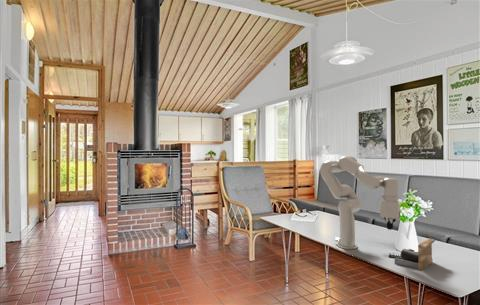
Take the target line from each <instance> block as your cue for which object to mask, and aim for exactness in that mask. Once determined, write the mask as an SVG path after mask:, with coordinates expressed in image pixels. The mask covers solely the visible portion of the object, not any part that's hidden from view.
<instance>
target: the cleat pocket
mask: <svg viewBox="0 0 480 305" xmlns="http://www.w3.org/2000/svg"><path fill="white" fill-rule="evenodd" d="M394 264H395V265H398V266H403V267H406V268H411V269H415V270H419V269H418V263H416V262H411V261H407V260H403V259H401V258H397V257H395V258H394Z"/></svg>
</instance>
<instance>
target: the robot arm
mask: <svg viewBox="0 0 480 305" xmlns="http://www.w3.org/2000/svg"><path fill="white" fill-rule="evenodd" d="M345 171H346V172H347V173H349V174H350V175H352V176H354V177H355V178H356V179H357V181H358V182H359V183H361V184H362V185H363V186H365V187H367V188H369V189H370V190H381V189H383V195H381V198H382V200H381V203H380V210H379V214H380V218H381V219H384V221H385V223H386V228H387V230H390V231H392V230H393V228H394V223H395V222H399V221H401V218H400V217H401V206H400V202H399V196H398V195H399V179H398V178H395V177H386V176H381V175H379V176H373V175H371V174H369V173H368V172H366V171H365V166H364V165H363V164H361V163H359V162H358V160H357V159H356V157H354V156H353V155H352V156H350V155H348V156H347V155H346V156H345V155H344V156H341V157H339V159H337V160H326V161H324V162H323V163H322V164H321V165H320V169H319V173H320V176H321V178H322V180H323V181H324V183H325V184H326V186H327V187H328V189H329V192H330V193H331V194H332V196H333V197H334V198H335V199H336V200H340V201H339V203H338V204H337V210H338V214H339V237H335V238H334V242H337V246H338V247H339V248H341V249H346V250H354V249H357V248H358V246H359V245H358V244H356V224H355V223H356V221H355V216H354V213H357V212H359V211H360V210H361V208H362V203H361V201H360V199H359V197H358V195H357V194H356V192H355V191H354V190H353V188H352V187H351V186H350V185H348V184H342V183H341V182H340V180H339V179H338V177H337V176H336V175H335V174H334V173H341V172H345Z"/></svg>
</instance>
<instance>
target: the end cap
mask: <svg viewBox="0 0 480 305" xmlns="http://www.w3.org/2000/svg"><path fill="white" fill-rule="evenodd" d="M400 257H401V258H402V260H407V261H411V262H416V263H418V251H415V250H414V249H410V248H408V249H406V248H403V249H401V252H400Z"/></svg>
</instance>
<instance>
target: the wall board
mask: <svg viewBox="0 0 480 305" xmlns="http://www.w3.org/2000/svg"><path fill="white" fill-rule="evenodd" d="M435 242H436V239H433V238H427V239H425V240H424V241H422V242H421V243H419V244H417V246H418V247H417V252H418V269H417V270H419V271H423V270H424V269H426V267H428V266H429V265H430V264H431V263H432V262H433V252H432V251H433V248H432V247H433V246H432V245H433V243H435Z"/></svg>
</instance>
